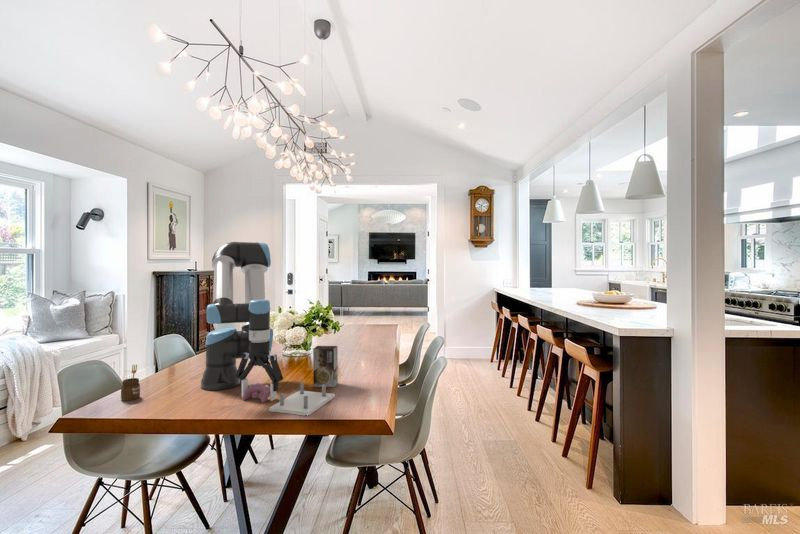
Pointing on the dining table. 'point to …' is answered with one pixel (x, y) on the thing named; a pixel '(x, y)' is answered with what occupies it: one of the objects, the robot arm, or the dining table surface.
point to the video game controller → (254, 390)
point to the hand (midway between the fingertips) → (258, 398)
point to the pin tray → (302, 401)
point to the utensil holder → (130, 387)
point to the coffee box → (325, 366)
